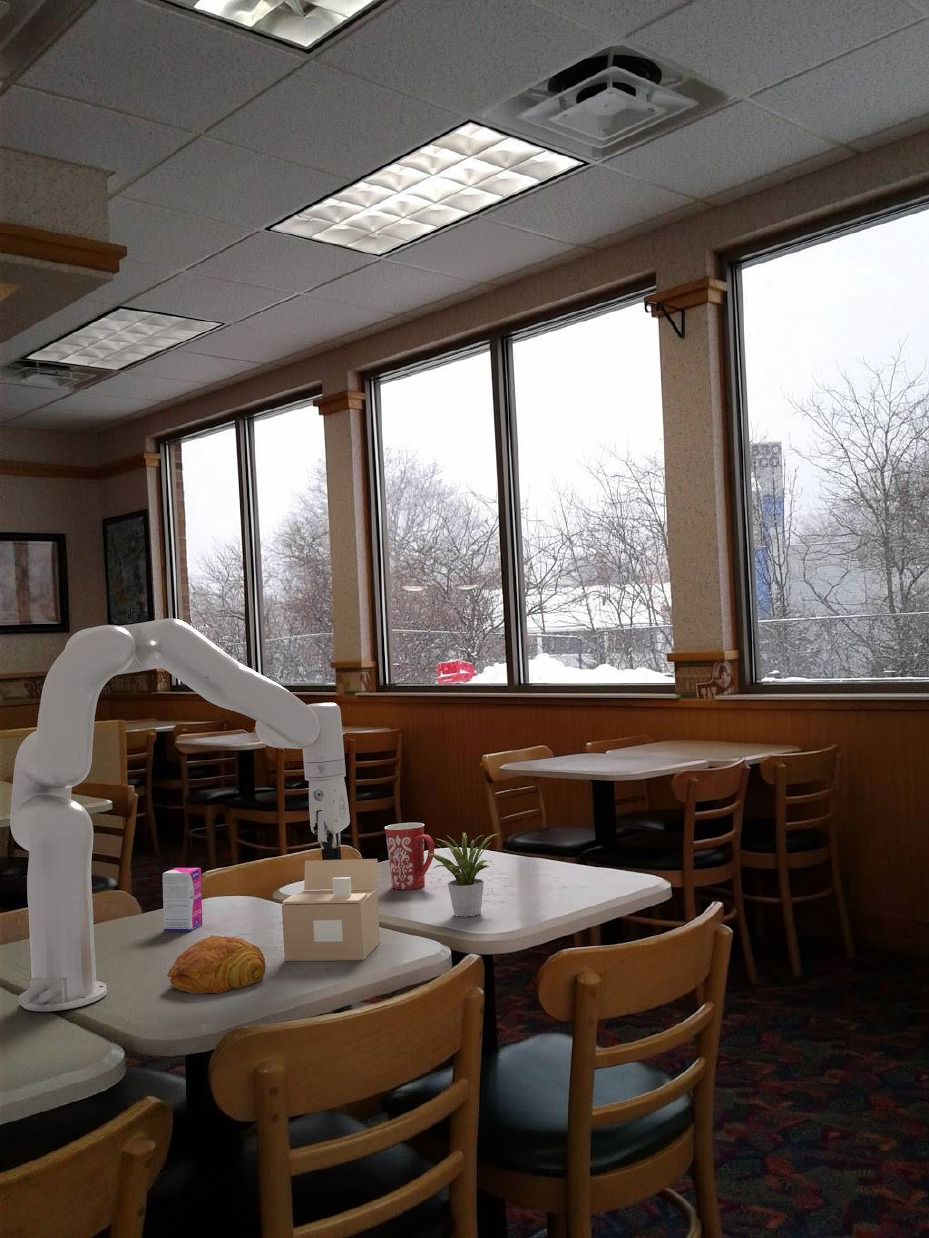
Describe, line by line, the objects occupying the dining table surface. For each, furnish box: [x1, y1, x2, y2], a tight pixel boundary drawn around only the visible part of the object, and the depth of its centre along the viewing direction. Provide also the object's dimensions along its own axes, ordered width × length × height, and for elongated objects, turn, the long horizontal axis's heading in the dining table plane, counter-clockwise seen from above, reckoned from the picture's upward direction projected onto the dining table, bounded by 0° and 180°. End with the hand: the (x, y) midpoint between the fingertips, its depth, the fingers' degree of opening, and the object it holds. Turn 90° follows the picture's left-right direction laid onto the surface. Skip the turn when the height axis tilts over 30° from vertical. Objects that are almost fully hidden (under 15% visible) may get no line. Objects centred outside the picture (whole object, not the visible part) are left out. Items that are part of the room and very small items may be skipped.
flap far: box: [303, 858, 378, 891], centre depth 200 cm, size 5×14×4 cm
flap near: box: [281, 877, 367, 905], centre depth 188 cm, size 5×14×4 cm, turn 80°
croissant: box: [167, 935, 267, 995], centre depth 177 cm, size 14×16×8 cm
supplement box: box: [162, 867, 203, 933], centre depth 215 cm, size 6×6×12 cm
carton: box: [281, 888, 381, 962], centre depth 191 cm, size 11×14×10 cm
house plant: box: [424, 831, 501, 917], centre depth 215 cm, size 14×14×16 cm
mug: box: [383, 822, 435, 891], centre depth 241 cm, size 13×9×14 cm
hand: (332, 868), depth 201 cm, fingers closed
